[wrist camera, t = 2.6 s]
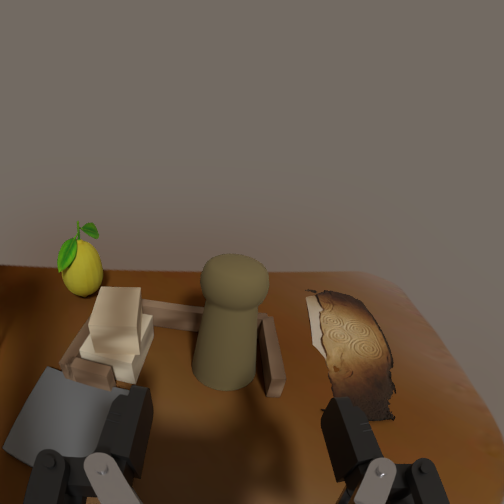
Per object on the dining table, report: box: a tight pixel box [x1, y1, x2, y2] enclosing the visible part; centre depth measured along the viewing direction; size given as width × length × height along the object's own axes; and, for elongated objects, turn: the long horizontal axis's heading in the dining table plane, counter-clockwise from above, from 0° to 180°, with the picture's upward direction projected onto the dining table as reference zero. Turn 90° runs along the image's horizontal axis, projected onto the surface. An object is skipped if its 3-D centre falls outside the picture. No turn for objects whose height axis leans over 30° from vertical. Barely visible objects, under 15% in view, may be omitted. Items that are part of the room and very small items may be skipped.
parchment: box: [305, 289, 396, 421], centre depth 30 cm, size 25×10×1 cm, turn 173°
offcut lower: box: [79, 314, 154, 384], centre depth 22 cm, size 5×7×3 cm
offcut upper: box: [88, 287, 142, 355], centre depth 22 cm, size 4×6×3 cm, turn 16°
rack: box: [59, 299, 286, 397], centre depth 23 cm, size 19×12×2 cm, turn 93°
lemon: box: [57, 221, 103, 298], centre depth 28 cm, size 7×6×10 cm
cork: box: [192, 254, 269, 391], centre depth 22 cm, size 6×6×11 cm
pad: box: [2, 366, 130, 468], centre depth 14 cm, size 10×10×1 cm
